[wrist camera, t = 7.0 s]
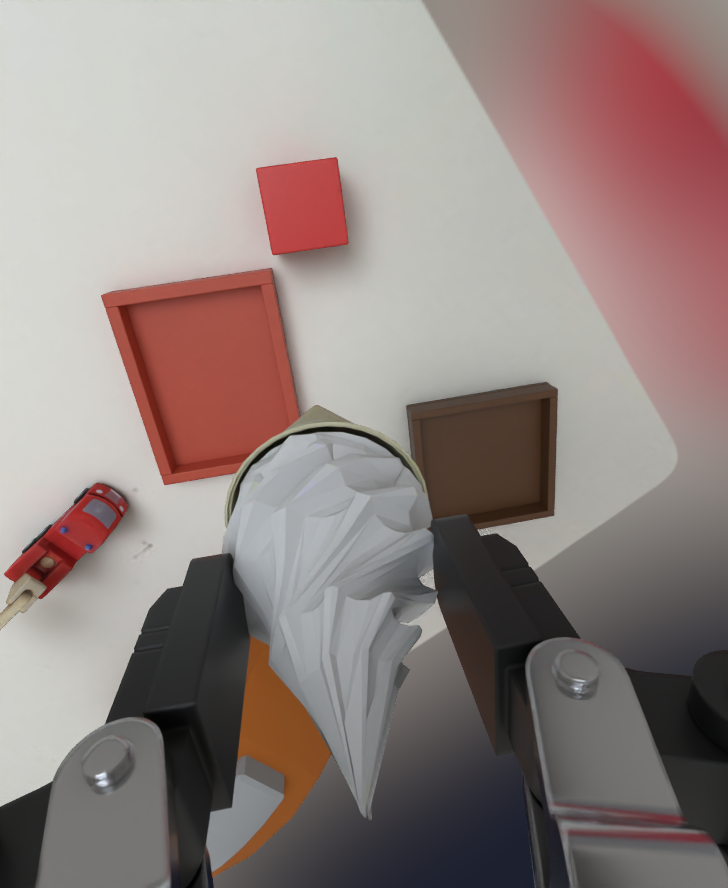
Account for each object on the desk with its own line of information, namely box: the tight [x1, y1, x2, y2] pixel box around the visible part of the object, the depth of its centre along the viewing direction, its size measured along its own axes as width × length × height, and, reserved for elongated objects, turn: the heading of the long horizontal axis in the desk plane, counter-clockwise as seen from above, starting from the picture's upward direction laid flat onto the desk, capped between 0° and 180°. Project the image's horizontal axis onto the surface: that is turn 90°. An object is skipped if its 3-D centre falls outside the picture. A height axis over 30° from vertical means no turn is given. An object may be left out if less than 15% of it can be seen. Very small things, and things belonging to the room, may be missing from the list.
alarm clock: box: [206, 636, 331, 877], centre depth 38 cm, size 23×9×17 cm, turn 134°
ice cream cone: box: [222, 405, 438, 820], centre depth 13 cm, size 5×5×15 cm
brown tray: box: [406, 382, 558, 532], centre depth 40 cm, size 11×11×2 cm
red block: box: [256, 157, 349, 255], centre depth 30 cm, size 4×4×4 cm
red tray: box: [101, 268, 300, 485], centre depth 35 cm, size 14×11×2 cm
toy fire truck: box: [0, 483, 128, 630], centre depth 35 cm, size 3×14×10 cm, turn 131°
